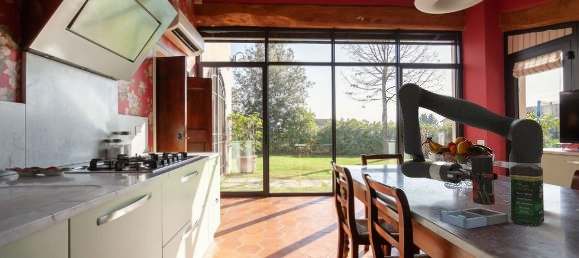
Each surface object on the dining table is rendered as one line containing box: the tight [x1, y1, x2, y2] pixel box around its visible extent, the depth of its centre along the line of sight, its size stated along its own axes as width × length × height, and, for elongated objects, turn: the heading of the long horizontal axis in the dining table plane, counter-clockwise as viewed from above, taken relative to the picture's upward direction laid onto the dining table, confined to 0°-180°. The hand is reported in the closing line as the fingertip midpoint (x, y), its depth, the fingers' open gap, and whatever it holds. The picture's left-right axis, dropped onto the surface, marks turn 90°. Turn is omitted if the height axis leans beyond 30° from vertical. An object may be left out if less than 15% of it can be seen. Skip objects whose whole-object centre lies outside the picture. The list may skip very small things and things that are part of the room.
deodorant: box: [470, 155, 496, 206], centre depth 97 cm, size 6×6×15 cm
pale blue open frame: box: [439, 206, 509, 230], centre depth 96 cm, size 18×10×3 cm, turn 110°
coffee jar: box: [509, 163, 545, 227], centre depth 94 cm, size 10×8×19 cm
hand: (489, 177), depth 95 cm, fingers closed on deodorant, 6 cm apart
